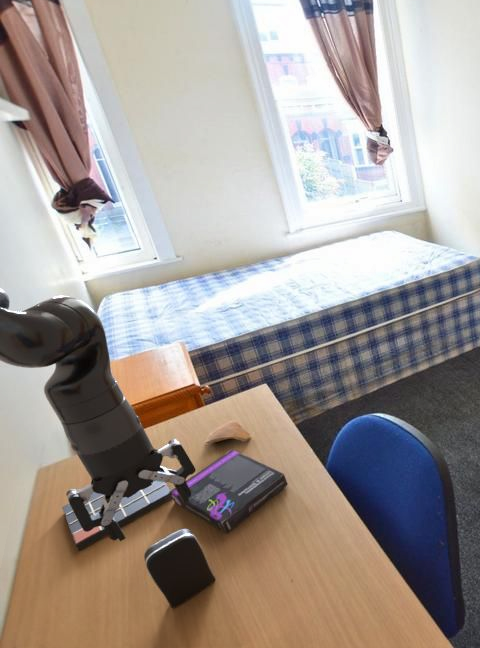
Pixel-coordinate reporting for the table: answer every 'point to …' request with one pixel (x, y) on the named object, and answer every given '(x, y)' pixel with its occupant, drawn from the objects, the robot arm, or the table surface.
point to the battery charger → (178, 567)
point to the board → (123, 515)
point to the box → (230, 490)
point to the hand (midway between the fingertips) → (154, 518)
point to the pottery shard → (228, 433)
